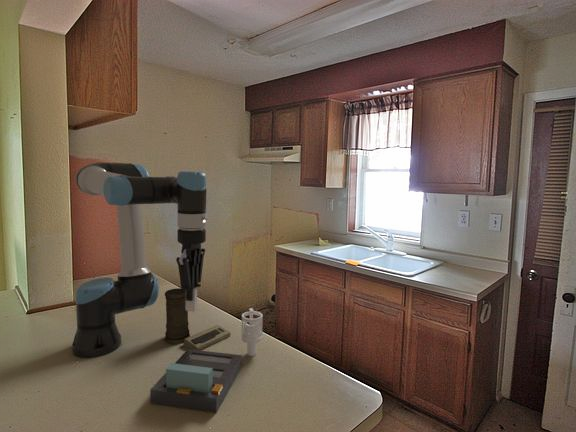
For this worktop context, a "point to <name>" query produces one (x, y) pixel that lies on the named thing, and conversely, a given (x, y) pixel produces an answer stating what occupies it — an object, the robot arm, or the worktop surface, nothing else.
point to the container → (176, 316)
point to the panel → (189, 377)
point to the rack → (223, 379)
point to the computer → (206, 338)
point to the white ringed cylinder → (252, 330)
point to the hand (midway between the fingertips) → (191, 310)
